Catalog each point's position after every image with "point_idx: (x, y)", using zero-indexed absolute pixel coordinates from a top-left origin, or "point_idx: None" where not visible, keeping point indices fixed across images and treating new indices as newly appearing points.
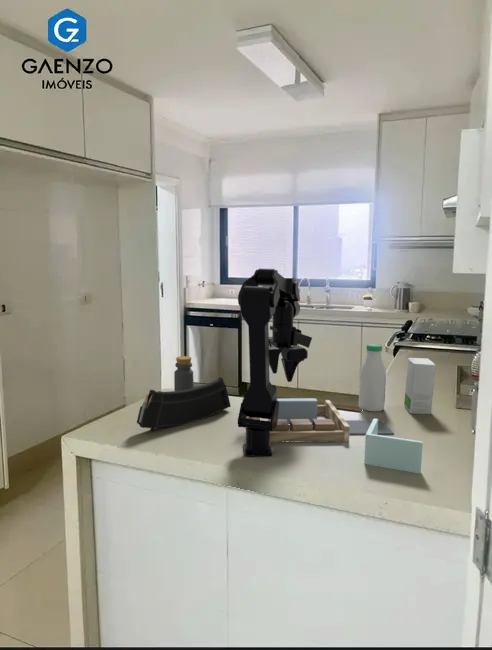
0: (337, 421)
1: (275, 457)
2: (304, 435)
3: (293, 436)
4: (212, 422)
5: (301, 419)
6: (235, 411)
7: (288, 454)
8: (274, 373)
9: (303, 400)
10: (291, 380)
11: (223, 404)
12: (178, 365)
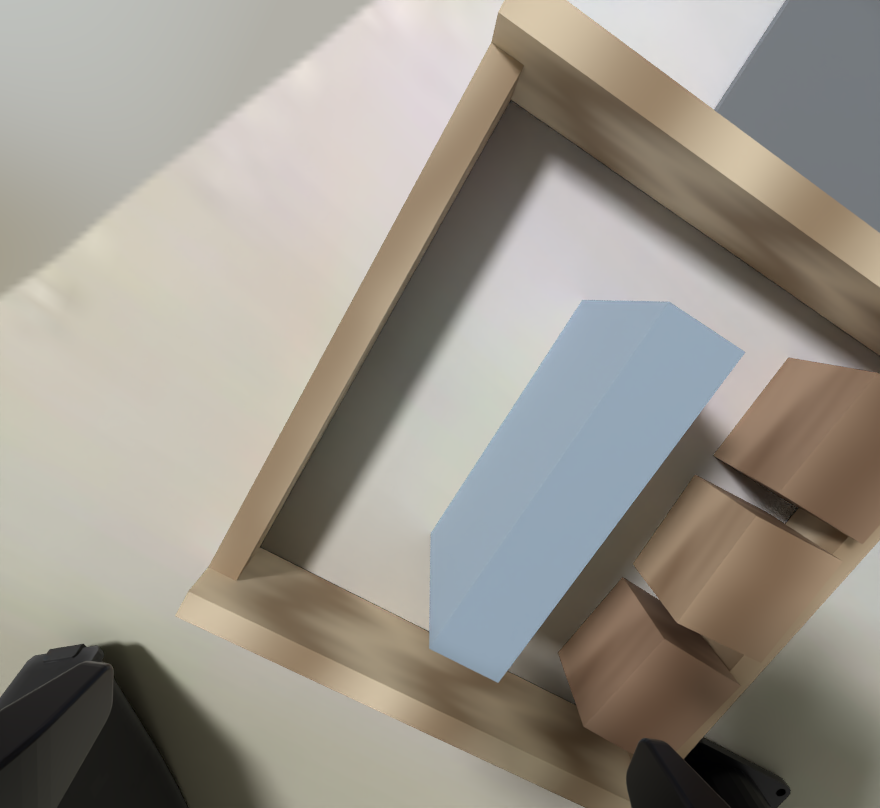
0: (859, 300)
1: (799, 771)
2: None
3: None
4: (262, 784)
5: (729, 561)
6: (141, 607)
7: (817, 715)
8: (111, 694)
9: (640, 460)
10: (676, 758)
11: None
12: None
